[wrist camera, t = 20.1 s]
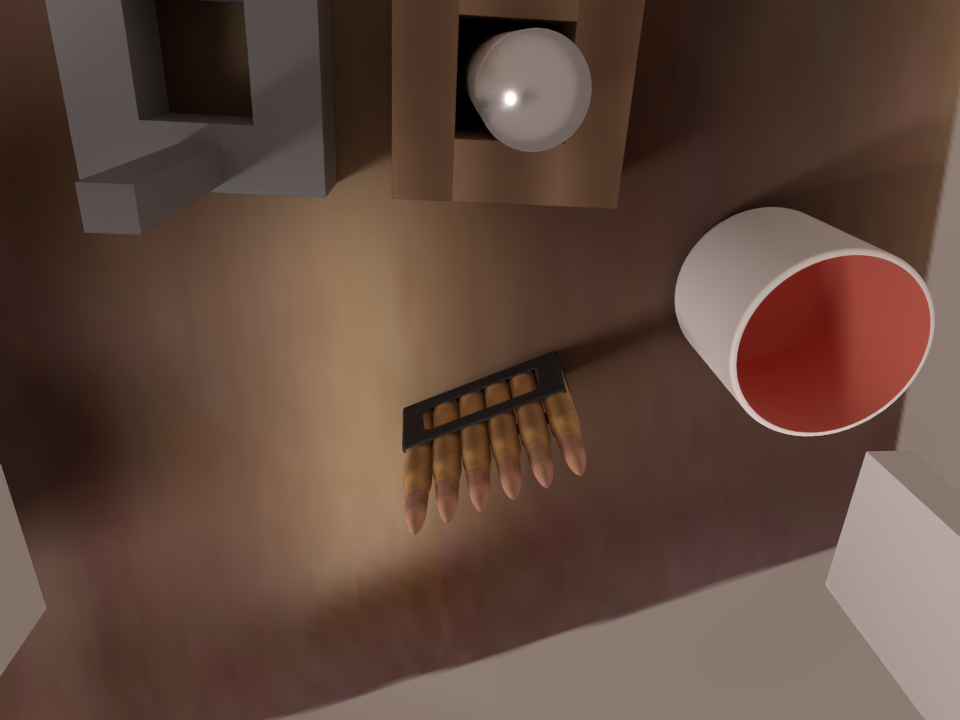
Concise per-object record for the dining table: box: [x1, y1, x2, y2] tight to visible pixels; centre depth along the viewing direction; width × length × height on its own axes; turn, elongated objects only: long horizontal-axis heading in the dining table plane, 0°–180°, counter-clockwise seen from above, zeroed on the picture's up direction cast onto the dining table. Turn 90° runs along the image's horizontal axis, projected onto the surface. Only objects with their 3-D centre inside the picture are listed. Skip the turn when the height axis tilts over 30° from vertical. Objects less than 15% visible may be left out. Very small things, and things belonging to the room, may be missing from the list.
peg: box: [463, 28, 592, 152], centre depth 30 cm, size 4×4×14 cm
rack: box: [392, 0, 645, 209], centre depth 33 cm, size 11×11×6 cm
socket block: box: [45, 0, 337, 235], centre depth 29 cm, size 12×12×14 cm
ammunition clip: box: [402, 352, 586, 535], centre depth 39 cm, size 11×2×12 cm, turn 112°
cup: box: [675, 207, 935, 436], centre depth 37 cm, size 10×10×10 cm
